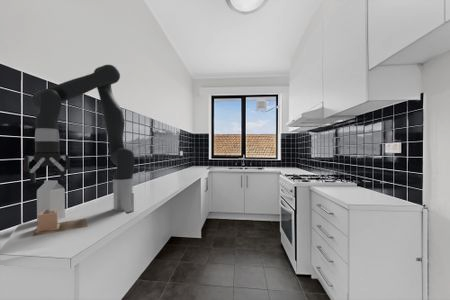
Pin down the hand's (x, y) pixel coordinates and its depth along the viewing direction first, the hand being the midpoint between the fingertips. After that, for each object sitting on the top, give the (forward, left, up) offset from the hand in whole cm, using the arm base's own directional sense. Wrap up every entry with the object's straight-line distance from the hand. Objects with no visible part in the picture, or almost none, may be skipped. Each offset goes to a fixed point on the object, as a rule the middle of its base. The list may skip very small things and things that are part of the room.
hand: (48, 181), depth 88 cm
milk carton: (0, -15, -20) cm, 25 cm away
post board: (-4, 0, -20) cm, 21 cm away
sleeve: (0, 0, -18) cm, 18 cm away
